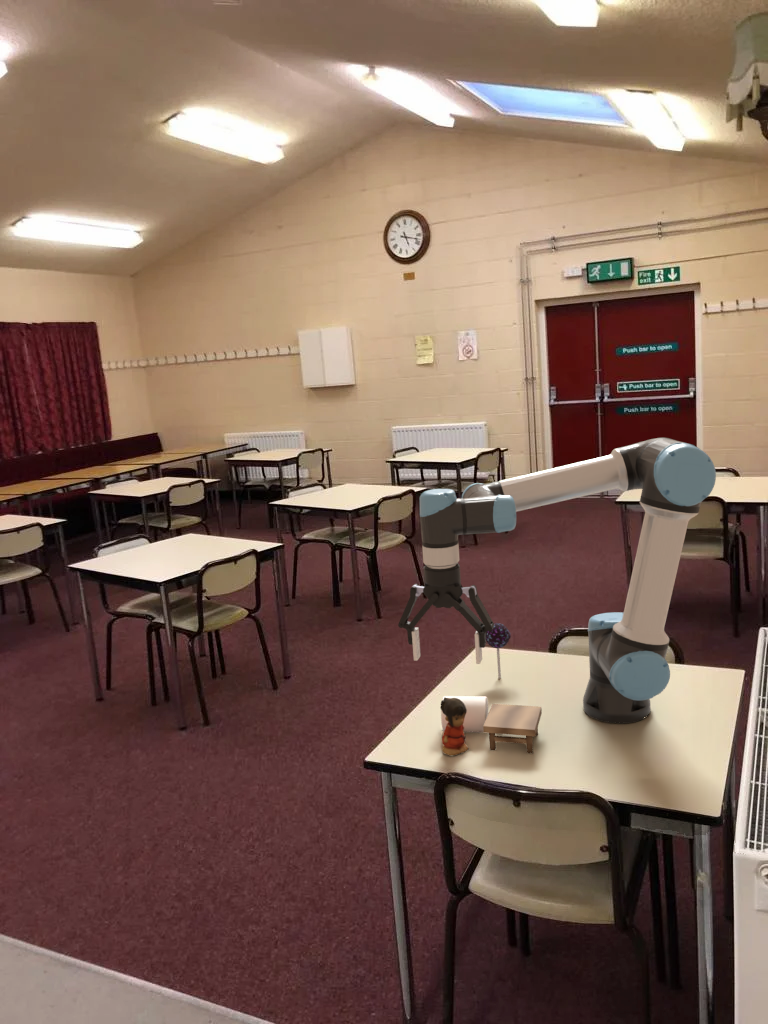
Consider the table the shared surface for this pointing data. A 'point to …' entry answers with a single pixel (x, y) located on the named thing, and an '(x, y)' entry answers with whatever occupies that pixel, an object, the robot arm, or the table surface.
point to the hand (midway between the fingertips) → (447, 660)
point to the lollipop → (498, 640)
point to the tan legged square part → (512, 724)
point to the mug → (471, 713)
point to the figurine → (454, 726)
